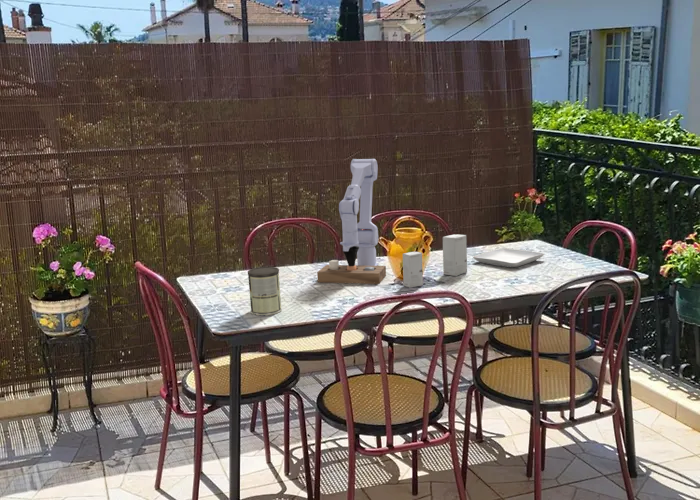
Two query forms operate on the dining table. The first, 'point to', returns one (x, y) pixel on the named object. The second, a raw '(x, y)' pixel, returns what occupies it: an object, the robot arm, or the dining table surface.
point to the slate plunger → (369, 268)
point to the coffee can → (264, 290)
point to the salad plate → (508, 257)
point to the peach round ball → (351, 267)
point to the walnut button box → (352, 275)
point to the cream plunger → (334, 265)
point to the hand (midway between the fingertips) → (351, 265)
